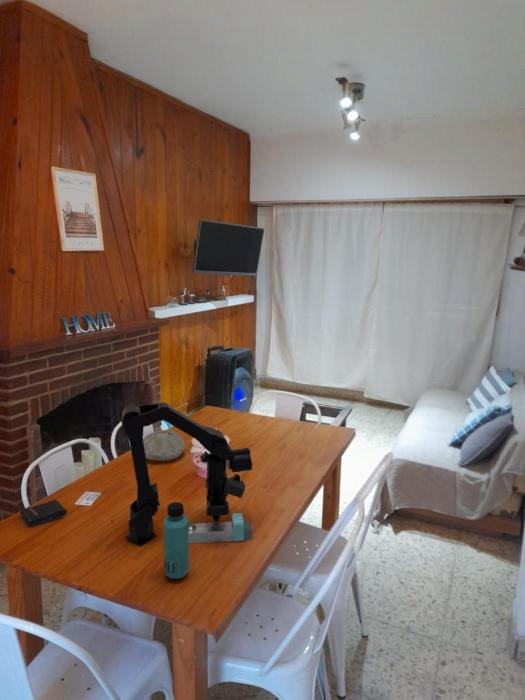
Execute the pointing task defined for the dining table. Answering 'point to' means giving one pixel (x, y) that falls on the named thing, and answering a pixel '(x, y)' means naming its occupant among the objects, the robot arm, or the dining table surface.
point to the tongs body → (214, 533)
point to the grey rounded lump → (163, 445)
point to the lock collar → (238, 527)
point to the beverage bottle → (176, 542)
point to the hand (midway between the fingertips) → (216, 521)
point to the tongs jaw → (218, 524)
